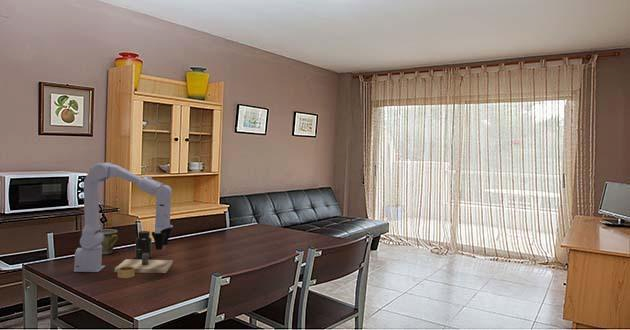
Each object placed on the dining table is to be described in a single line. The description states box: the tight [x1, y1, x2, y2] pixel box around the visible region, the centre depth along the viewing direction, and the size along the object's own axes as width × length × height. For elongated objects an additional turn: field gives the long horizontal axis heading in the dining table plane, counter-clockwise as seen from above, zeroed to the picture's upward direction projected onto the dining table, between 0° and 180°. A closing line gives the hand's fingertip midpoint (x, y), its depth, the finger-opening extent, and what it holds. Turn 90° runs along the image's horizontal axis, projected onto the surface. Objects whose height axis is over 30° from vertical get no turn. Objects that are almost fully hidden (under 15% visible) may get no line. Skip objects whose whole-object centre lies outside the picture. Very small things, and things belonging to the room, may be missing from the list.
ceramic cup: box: [101, 228, 119, 255], centre depth 205 cm, size 13×10×10 cm
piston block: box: [114, 253, 174, 274], centre depth 185 cm, size 20×14×6 cm
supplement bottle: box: [134, 230, 153, 260], centre depth 200 cm, size 7×7×12 cm
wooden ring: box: [117, 266, 136, 279], centre depth 173 cm, size 6×6×3 cm
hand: (161, 247), depth 181 cm, fingers open, 7 cm apart
